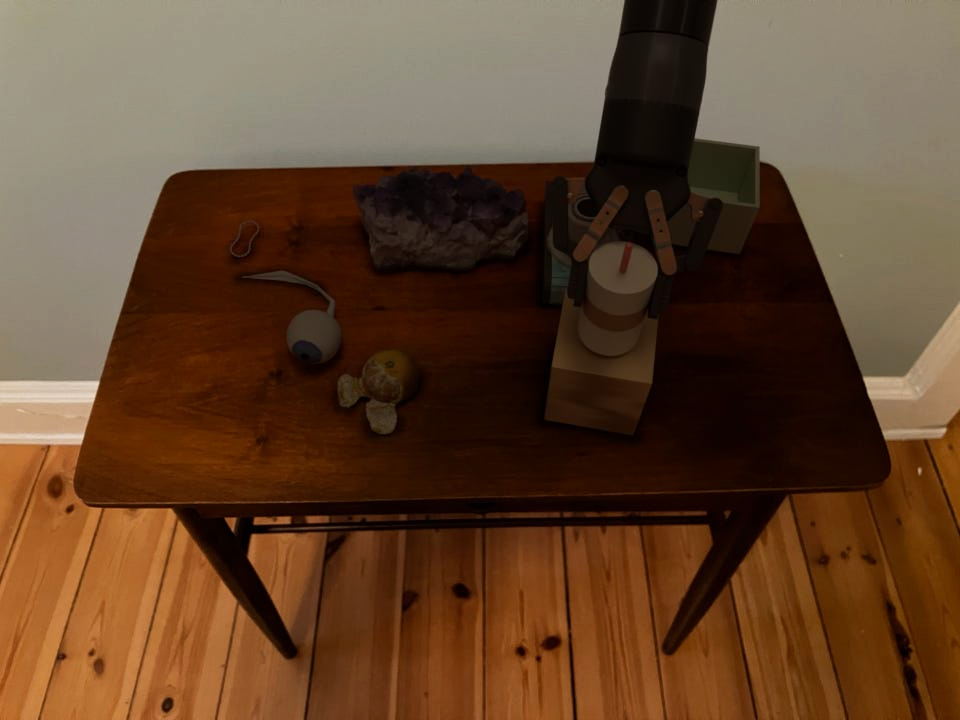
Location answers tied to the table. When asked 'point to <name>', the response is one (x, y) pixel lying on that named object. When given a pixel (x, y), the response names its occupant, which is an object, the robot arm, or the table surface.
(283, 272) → the novelty item
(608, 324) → the paper cup
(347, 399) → the fruit
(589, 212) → the camera
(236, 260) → the table surface
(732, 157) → the bin
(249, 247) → the necklace
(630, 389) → the stand
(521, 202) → the geode
